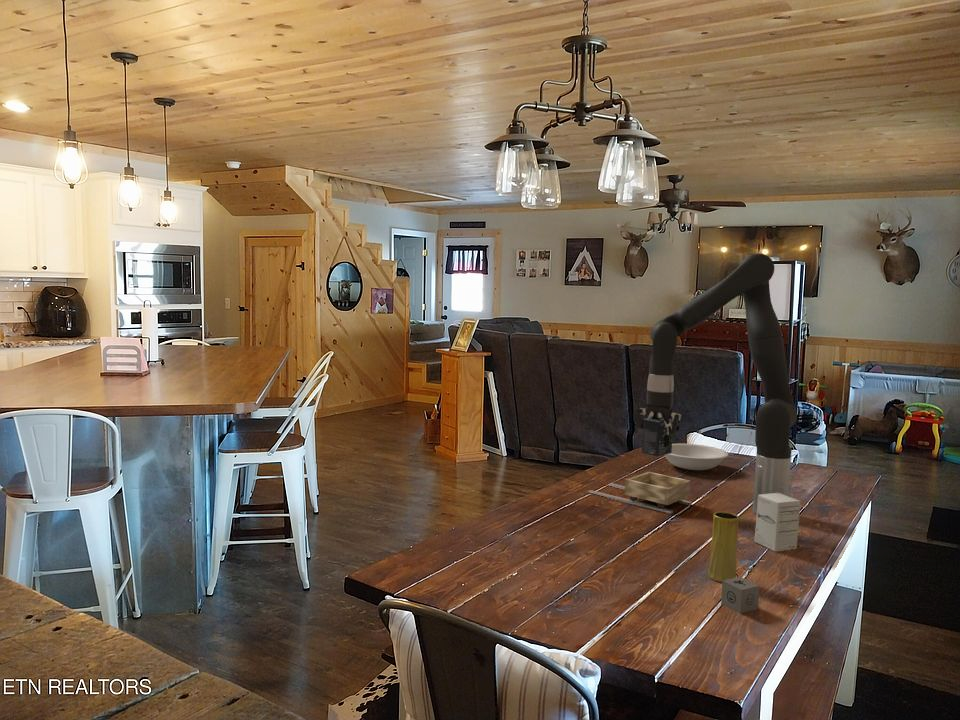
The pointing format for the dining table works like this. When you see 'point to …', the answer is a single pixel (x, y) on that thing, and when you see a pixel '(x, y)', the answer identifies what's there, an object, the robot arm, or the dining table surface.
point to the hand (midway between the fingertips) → (657, 445)
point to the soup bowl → (695, 456)
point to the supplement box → (777, 521)
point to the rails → (636, 501)
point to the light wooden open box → (657, 488)
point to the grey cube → (740, 595)
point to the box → (655, 437)
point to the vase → (723, 547)
